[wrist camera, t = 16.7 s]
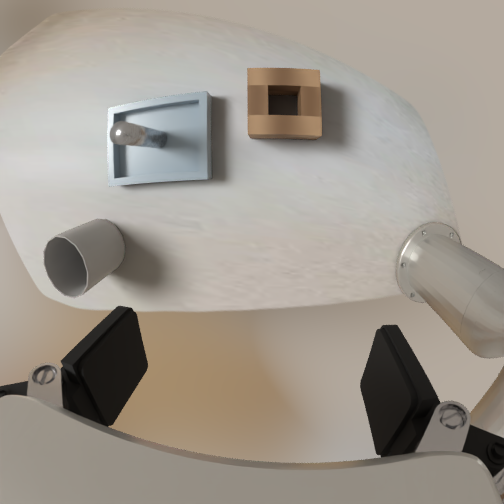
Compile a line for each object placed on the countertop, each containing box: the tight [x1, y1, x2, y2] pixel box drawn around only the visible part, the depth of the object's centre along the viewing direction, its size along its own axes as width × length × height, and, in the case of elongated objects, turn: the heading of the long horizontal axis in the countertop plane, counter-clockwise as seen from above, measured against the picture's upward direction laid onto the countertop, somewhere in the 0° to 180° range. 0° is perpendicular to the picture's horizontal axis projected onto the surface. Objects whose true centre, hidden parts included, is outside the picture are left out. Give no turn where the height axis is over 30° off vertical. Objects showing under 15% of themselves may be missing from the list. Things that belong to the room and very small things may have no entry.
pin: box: [110, 121, 167, 149], centre depth 27 cm, size 2×2×10 cm
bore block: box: [247, 68, 322, 140], centre depth 28 cm, size 8×8×5 cm
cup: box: [44, 219, 125, 298], centre depth 33 cm, size 8×8×10 cm
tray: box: [107, 91, 212, 187], centre depth 31 cm, size 14×11×2 cm
